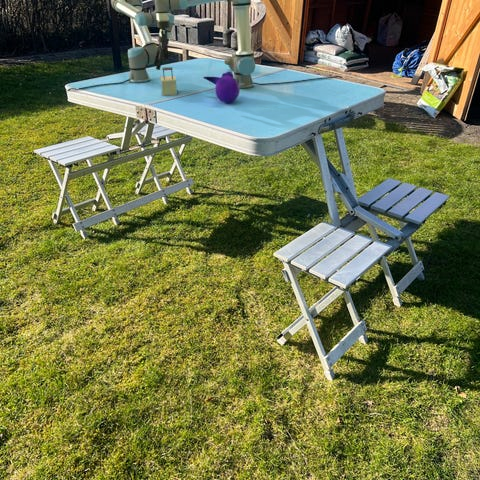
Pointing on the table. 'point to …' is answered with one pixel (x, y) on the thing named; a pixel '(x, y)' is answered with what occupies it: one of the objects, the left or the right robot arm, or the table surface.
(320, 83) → the table surface
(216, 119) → the table surface
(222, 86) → the toy
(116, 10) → the left robot arm
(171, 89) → the chest
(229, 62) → the teapot
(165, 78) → the beige boxy piece
